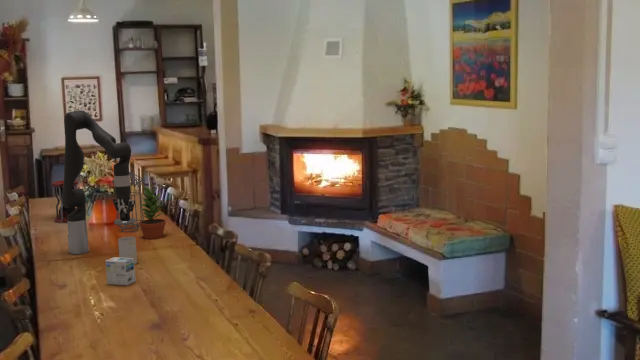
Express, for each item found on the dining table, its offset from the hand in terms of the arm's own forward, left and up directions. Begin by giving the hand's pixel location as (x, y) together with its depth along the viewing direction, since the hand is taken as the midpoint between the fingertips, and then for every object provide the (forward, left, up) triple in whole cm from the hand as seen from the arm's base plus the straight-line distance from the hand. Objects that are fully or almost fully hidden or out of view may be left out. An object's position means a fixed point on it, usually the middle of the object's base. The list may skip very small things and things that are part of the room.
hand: (125, 219), depth 343 cm
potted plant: (-31, +45, -21) cm, 59 cm away
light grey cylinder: (0, 0, -22) cm, 22 cm away
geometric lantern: (-57, +52, -21) cm, 80 cm away
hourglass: (-118, +53, -22) cm, 131 cm away
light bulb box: (+24, -24, -22) cm, 40 cm away
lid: (0, 0, -1) cm, 1 cm away
